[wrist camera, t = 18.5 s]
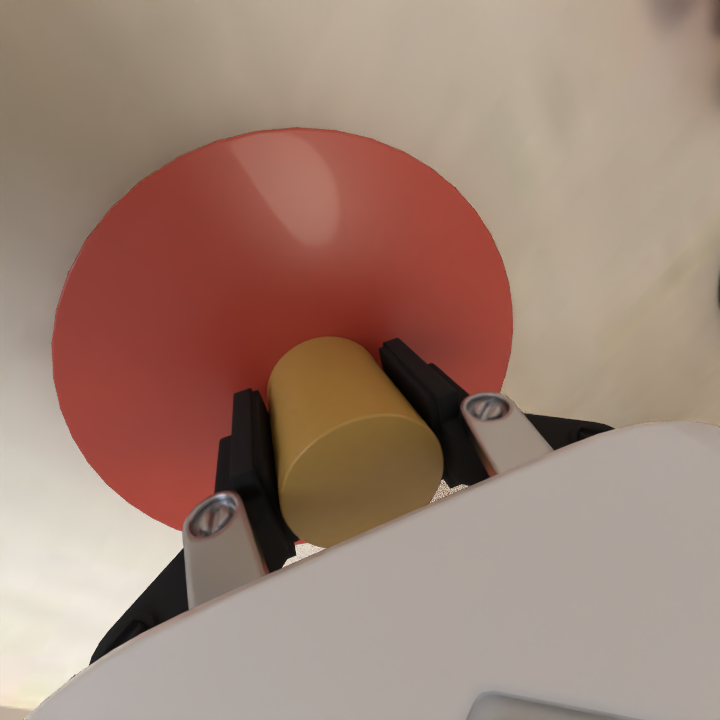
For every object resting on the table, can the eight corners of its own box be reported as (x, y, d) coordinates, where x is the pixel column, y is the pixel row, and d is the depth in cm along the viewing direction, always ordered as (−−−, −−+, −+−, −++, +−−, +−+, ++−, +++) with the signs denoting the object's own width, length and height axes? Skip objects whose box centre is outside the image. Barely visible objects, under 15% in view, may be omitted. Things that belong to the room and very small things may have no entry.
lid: (91, 543, 14) (-6, 762, 8) (33, 43, 8) (-405, -276, 3) (436, 509, 19) (509, 628, 14) (551, 202, 14) (751, 205, 8)
